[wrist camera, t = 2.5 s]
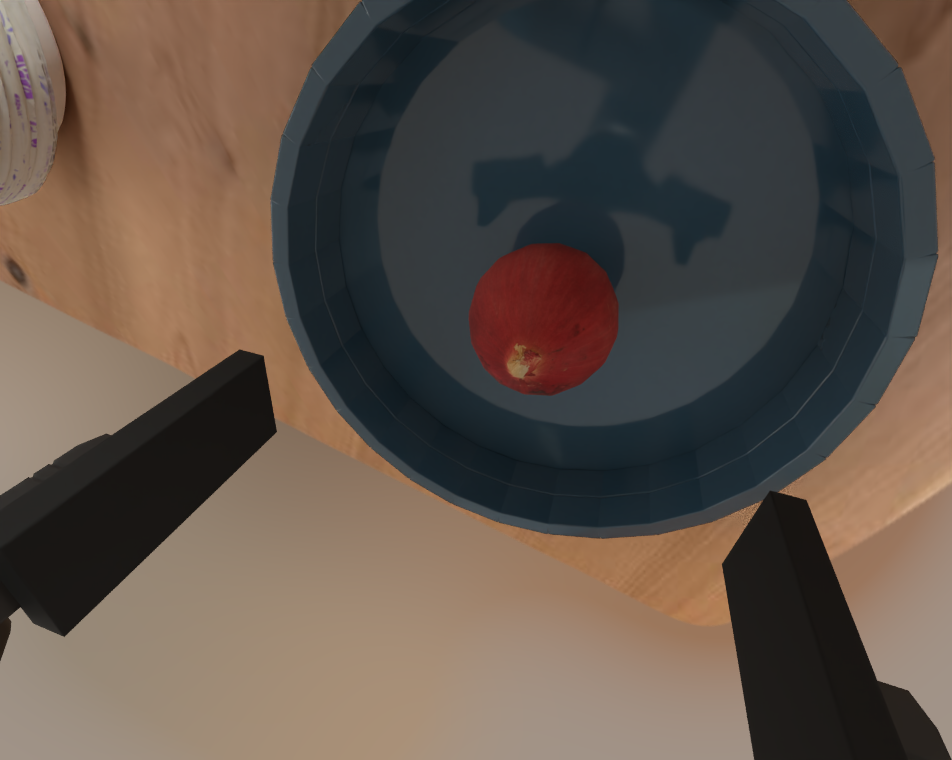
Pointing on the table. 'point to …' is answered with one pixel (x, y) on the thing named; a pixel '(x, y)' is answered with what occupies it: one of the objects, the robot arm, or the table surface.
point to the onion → (543, 319)
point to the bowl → (608, 243)
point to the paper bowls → (28, 98)
